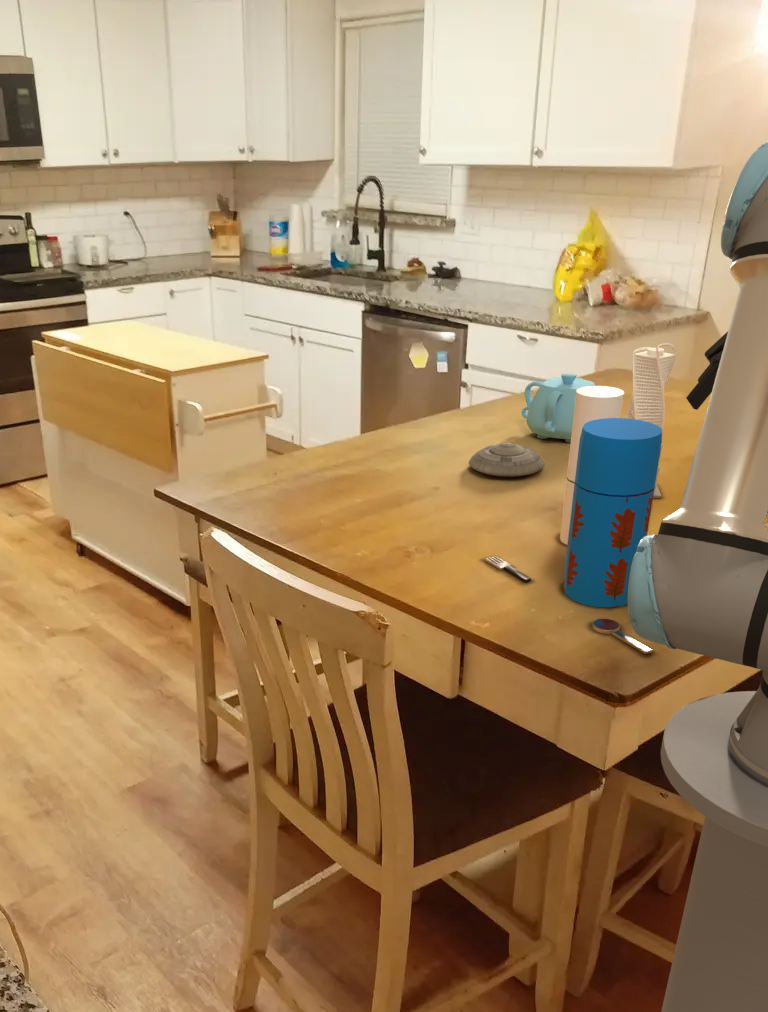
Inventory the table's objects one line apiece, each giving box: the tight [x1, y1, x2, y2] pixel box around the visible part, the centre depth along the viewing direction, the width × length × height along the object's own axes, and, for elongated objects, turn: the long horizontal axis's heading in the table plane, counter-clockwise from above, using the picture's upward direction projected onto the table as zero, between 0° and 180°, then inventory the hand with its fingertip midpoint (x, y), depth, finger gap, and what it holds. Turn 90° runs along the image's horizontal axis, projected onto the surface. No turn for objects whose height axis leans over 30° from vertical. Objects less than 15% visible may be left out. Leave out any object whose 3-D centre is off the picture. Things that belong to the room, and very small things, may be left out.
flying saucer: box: [468, 442, 545, 478], centre depth 191 cm, size 15×15×6 cm
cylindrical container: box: [559, 385, 625, 546], centre depth 154 cm, size 7×7×25 cm
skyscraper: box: [625, 342, 678, 499], centre depth 172 cm, size 8×8×28 cm
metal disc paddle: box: [592, 618, 653, 655], centre depth 130 cm, size 10×4×1 cm, turn 25°
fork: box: [484, 555, 532, 583], centre depth 150 cm, size 10×2×1 cm, turn 25°
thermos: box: [563, 417, 663, 609], centre depth 136 cm, size 11×11×25 cm
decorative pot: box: [521, 372, 596, 444], centre depth 209 cm, size 16×16×14 cm
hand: (717, 411), depth 137 cm, fingers open, 9 cm apart
